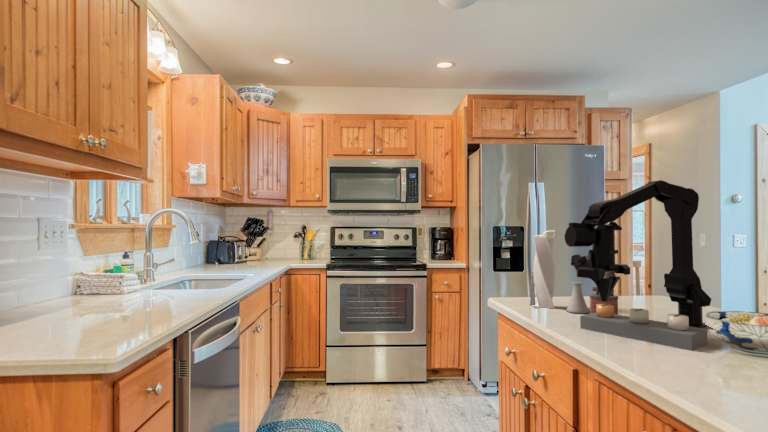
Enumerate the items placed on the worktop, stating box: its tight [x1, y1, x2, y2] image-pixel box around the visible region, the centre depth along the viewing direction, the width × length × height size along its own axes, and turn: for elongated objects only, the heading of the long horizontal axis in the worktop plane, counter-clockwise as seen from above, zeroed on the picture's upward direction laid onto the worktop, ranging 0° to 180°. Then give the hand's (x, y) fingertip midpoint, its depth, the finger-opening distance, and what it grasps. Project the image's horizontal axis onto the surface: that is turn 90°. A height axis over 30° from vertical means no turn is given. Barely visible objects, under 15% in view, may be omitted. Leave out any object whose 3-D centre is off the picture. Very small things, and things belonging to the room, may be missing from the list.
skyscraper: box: [529, 229, 557, 310], centre depth 152 cm, size 8×8×28 cm
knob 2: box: [666, 313, 689, 330], centre depth 105 cm, size 4×4×7 cm
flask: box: [566, 281, 590, 314], centre depth 143 cm, size 7×7×10 cm
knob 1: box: [596, 304, 614, 317], centre depth 119 cm, size 4×4×7 cm
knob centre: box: [628, 308, 650, 323], centre depth 112 cm, size 4×4×7 cm
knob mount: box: [579, 312, 709, 351], centre depth 112 cm, size 10×27×4 cm, turn 35°
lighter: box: [589, 286, 619, 315], centre depth 132 cm, size 8×3×10 cm, turn 58°
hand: (604, 301), depth 119 cm, fingers closed
